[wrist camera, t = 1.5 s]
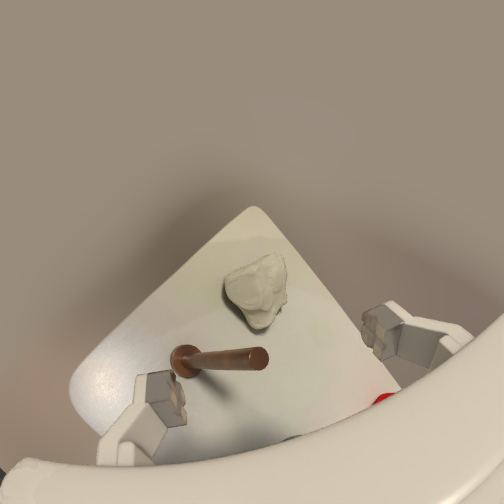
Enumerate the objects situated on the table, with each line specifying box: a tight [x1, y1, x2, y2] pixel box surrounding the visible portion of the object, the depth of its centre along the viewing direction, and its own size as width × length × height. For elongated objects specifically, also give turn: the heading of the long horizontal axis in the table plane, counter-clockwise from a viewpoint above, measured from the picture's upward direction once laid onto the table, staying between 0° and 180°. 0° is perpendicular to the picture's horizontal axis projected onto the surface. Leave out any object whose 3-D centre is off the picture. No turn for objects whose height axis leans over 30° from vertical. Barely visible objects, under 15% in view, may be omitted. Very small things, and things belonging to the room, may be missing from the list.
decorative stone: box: [224, 253, 287, 329], centre depth 41 cm, size 11×9×10 cm
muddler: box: [170, 345, 269, 377], centre depth 27 cm, size 4×4×17 cm
